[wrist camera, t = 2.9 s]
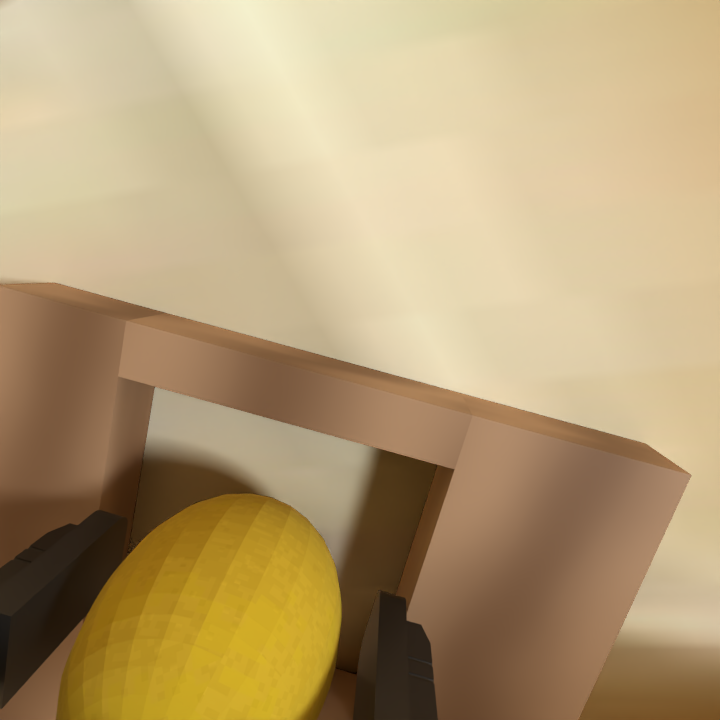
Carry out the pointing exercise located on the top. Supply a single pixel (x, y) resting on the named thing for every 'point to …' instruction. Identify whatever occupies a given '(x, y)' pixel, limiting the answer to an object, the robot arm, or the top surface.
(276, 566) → the lemon
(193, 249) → the top surface
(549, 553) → the pocket board
